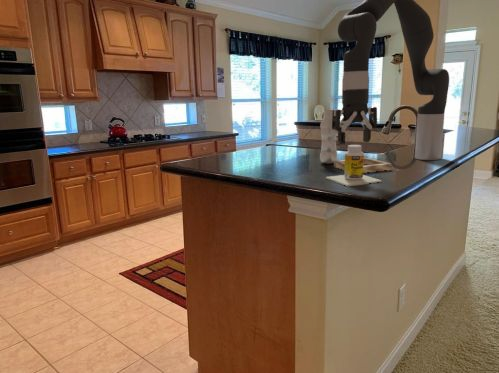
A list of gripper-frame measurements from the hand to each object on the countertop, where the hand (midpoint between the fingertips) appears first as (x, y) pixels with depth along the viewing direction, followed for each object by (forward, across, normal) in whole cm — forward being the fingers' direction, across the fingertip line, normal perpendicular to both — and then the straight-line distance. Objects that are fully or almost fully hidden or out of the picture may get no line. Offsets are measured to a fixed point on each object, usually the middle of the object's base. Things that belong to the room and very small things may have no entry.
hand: (354, 143), depth 117 cm
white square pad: (+12, 0, 0) cm, 12 cm away
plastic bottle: (+12, -8, -28) cm, 31 cm away
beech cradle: (+12, -13, -14) cm, 22 cm away
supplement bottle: (+11, 0, 0) cm, 11 cm away
